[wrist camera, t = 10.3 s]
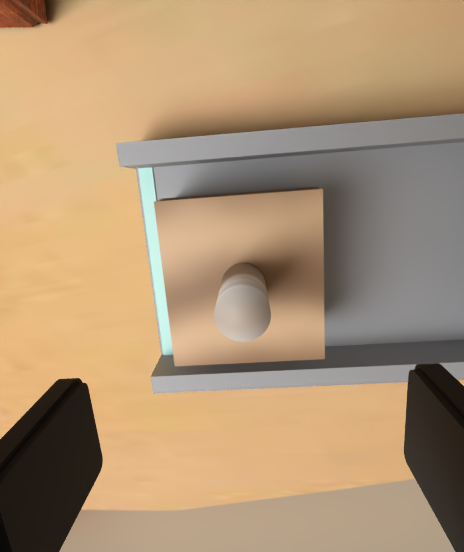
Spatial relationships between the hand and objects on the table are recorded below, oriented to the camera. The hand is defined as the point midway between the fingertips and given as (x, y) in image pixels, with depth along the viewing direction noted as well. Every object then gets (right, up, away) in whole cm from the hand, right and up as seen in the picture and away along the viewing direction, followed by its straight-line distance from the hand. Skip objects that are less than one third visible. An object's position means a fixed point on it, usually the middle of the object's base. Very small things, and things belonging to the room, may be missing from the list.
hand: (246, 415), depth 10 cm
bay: (+7, +6, +22) cm, 24 cm away
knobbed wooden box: (+1, +5, +21) cm, 22 cm away
